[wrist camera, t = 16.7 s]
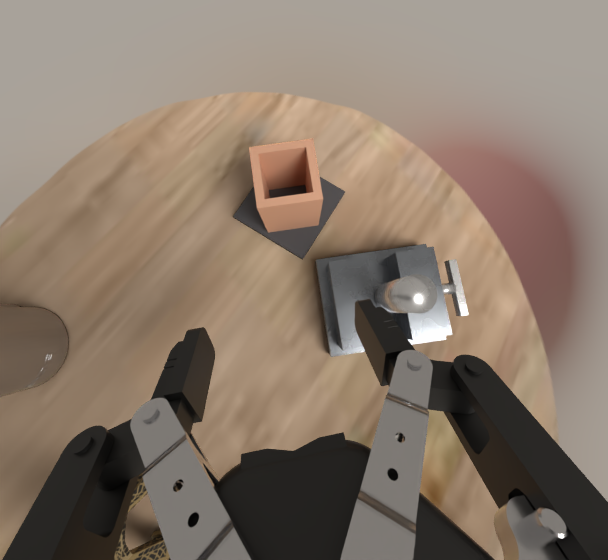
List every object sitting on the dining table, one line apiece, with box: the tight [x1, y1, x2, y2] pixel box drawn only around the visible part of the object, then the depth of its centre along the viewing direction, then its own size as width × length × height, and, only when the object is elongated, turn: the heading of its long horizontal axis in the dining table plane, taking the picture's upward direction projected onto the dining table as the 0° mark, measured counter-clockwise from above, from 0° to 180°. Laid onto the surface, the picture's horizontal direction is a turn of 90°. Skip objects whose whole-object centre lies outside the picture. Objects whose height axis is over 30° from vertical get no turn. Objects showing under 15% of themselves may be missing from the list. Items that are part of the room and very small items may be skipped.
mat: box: [233, 177, 345, 259], centre depth 30 cm, size 10×10×1 cm
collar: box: [249, 138, 323, 233], centre depth 26 cm, size 6×6×7 cm
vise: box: [315, 244, 469, 357], centre depth 23 cm, size 15×11×10 cm
